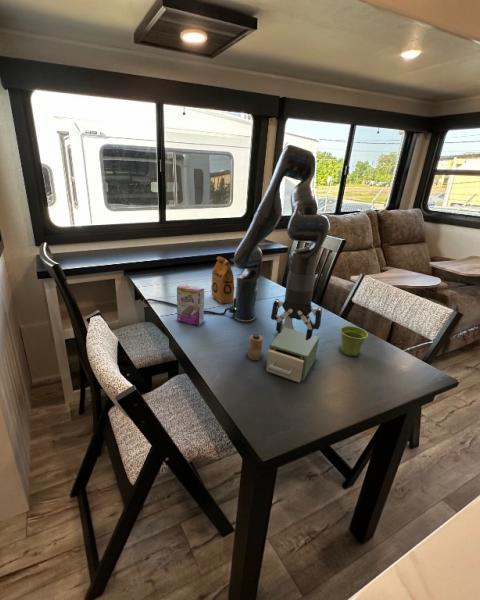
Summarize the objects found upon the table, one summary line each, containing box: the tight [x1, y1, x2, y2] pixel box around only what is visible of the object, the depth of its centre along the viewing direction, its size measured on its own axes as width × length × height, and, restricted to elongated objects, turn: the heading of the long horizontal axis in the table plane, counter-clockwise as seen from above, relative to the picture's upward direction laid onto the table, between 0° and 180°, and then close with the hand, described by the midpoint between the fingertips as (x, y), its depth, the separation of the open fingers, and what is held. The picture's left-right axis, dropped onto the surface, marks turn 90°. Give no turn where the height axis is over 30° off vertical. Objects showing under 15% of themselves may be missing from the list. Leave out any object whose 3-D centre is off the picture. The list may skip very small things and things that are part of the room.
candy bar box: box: [176, 283, 205, 327], centre depth 135 cm, size 11×5×16 cm, turn 65°
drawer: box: [265, 348, 305, 383], centre depth 103 cm, size 18×11×8 cm, turn 148°
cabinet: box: [268, 327, 320, 382], centre depth 108 cm, size 15×13×10 cm
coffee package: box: [210, 256, 235, 305], centre depth 158 cm, size 10×12×22 cm
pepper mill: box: [247, 333, 263, 361], centre depth 112 cm, size 5×5×9 cm
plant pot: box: [339, 325, 369, 357], centre depth 116 cm, size 9×9×9 cm
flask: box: [276, 316, 295, 336], centre depth 126 cm, size 7×7×10 cm
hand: (293, 335), depth 95 cm, fingers open, 8 cm apart
